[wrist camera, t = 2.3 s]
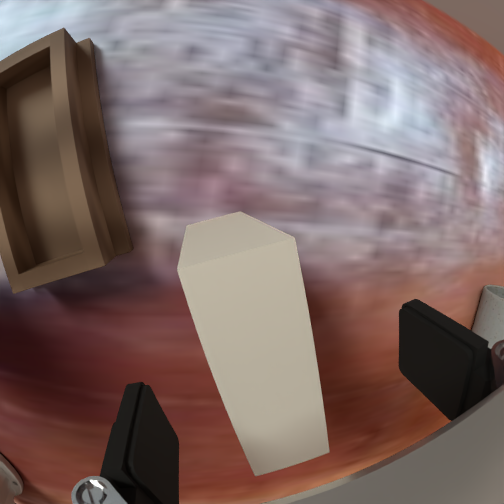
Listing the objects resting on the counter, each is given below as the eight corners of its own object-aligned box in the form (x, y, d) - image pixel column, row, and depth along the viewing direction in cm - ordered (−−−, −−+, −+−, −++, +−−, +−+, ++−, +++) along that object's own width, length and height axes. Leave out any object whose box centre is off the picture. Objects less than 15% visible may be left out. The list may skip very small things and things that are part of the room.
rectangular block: (281, 342, 22) (344, 446, 11) (226, 358, 21) (255, 476, 11) (251, 208, 20) (318, 231, 9) (186, 225, 19) (177, 269, 9)
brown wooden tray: (133, 248, 19) (121, 260, 15) (27, 281, 18) (3, 297, 14) (93, 43, 15) (78, 21, 12) (-7, 92, 14) (-31, 82, 11)
